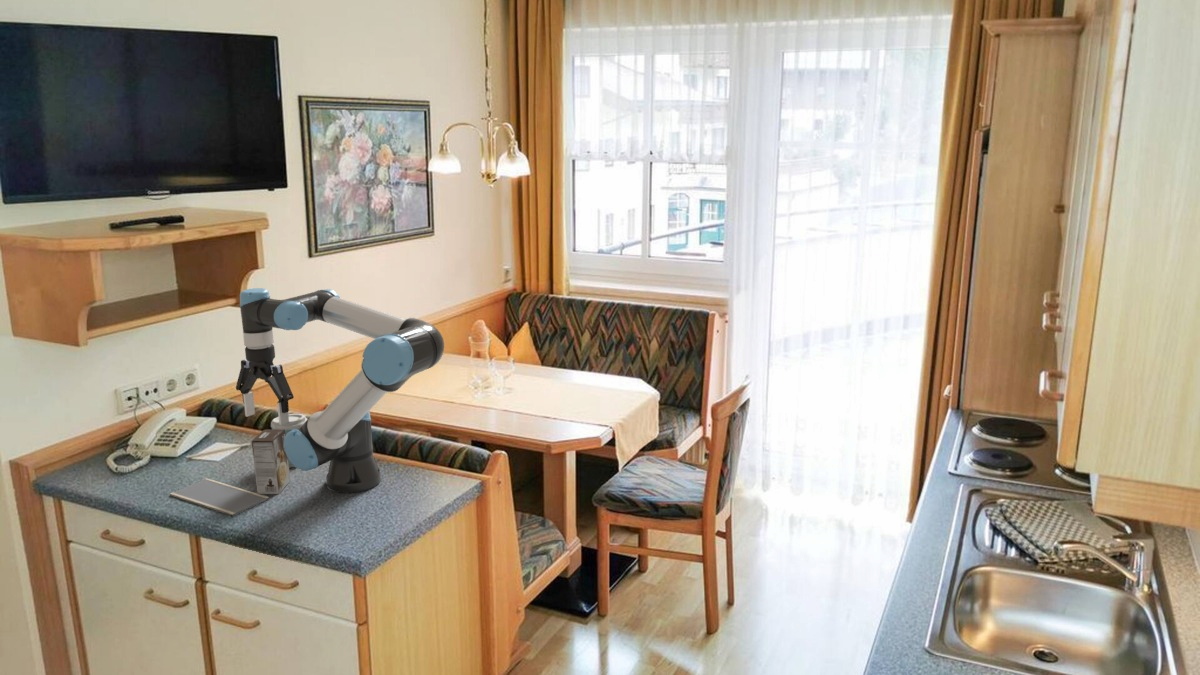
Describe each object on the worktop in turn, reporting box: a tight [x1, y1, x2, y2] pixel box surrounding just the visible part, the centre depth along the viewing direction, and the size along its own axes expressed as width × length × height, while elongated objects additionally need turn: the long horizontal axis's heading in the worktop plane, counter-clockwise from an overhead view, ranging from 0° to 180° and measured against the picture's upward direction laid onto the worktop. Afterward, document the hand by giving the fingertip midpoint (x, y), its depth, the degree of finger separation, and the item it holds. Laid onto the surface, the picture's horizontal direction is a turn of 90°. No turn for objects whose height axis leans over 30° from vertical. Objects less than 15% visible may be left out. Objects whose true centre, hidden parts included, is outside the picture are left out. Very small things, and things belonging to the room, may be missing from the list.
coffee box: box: [251, 428, 291, 495], centre depth 254 cm, size 9×6×16 cm
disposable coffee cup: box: [270, 413, 308, 468], centre depth 271 cm, size 11×11×15 cm
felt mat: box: [169, 477, 270, 517], centre depth 250 cm, size 26×12×1 cm, turn 60°
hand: (267, 419), depth 251 cm, fingers open, 13 cm apart
